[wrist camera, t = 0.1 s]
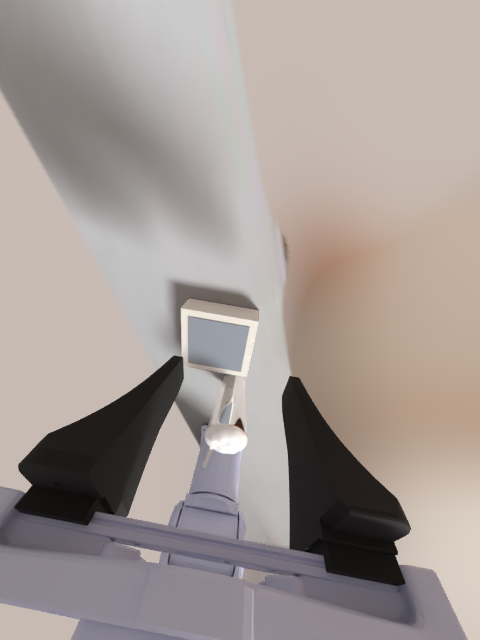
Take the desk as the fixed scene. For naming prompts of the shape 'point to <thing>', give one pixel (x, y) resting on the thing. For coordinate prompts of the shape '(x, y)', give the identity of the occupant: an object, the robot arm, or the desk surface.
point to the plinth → (218, 336)
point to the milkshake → (228, 418)
